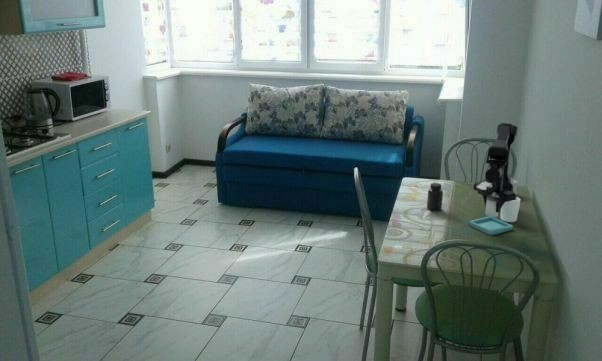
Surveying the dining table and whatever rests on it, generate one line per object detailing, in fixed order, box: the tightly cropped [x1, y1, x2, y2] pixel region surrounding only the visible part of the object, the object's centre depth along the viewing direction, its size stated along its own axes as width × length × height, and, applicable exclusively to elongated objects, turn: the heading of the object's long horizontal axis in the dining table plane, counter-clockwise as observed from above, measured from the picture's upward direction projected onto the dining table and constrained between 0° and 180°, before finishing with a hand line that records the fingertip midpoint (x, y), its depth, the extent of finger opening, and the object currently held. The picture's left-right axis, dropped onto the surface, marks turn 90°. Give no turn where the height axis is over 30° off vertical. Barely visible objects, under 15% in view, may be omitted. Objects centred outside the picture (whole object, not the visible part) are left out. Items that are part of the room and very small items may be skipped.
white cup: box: [500, 196, 521, 223], centre depth 244 cm, size 8×8×10 cm
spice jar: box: [484, 194, 499, 218], centre depth 234 cm, size 5×5×8 cm
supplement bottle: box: [426, 182, 444, 212], centre depth 257 cm, size 7×7×12 cm
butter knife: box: [422, 209, 432, 220], centre depth 246 cm, size 1×24×3 cm
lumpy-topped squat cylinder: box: [493, 177, 518, 195], centre depth 277 cm, size 10×13×9 cm
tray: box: [468, 216, 514, 236], centre depth 237 cm, size 13×13×2 cm
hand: (492, 210), depth 235 cm, fingers closed on spice jar, 5 cm apart
